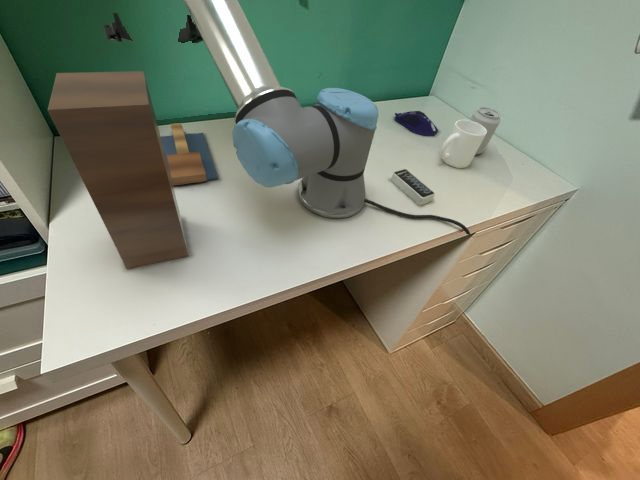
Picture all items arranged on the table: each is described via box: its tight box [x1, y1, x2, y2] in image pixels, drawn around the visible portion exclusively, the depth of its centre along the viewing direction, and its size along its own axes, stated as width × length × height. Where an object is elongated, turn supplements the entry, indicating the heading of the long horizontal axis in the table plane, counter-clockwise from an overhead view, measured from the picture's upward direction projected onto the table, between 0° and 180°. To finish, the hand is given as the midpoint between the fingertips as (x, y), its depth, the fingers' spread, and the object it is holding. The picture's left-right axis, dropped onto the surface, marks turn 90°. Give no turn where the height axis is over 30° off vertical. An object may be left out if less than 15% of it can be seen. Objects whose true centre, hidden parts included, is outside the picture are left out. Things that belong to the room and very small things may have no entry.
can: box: [470, 106, 502, 156], centre depth 95 cm, size 8×8×12 cm
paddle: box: [167, 122, 208, 186], centre depth 78 cm, size 23×7×2 cm, turn 23°
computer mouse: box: [394, 110, 439, 137], centre depth 104 cm, size 9×15×4 cm, turn 58°
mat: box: [160, 132, 219, 187], centre depth 78 cm, size 20×12×1 cm, turn 23°
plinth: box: [47, 70, 190, 270], centre depth 50 cm, size 10×10×28 cm
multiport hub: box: [390, 168, 436, 206], centre depth 80 cm, size 4×11×2 cm, turn 31°
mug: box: [439, 119, 487, 169], centre depth 89 cm, size 12×8×10 cm
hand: (155, 21), depth 66 cm, fingers open, 13 cm apart
